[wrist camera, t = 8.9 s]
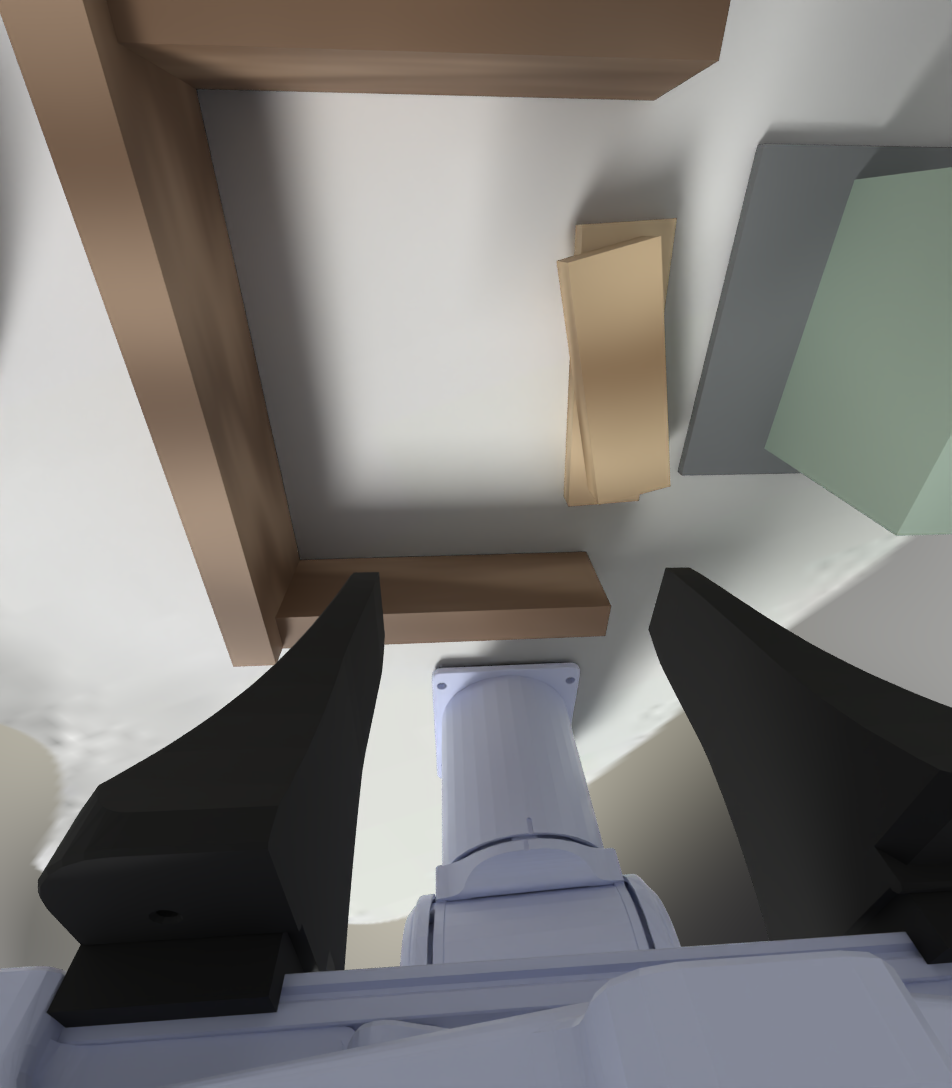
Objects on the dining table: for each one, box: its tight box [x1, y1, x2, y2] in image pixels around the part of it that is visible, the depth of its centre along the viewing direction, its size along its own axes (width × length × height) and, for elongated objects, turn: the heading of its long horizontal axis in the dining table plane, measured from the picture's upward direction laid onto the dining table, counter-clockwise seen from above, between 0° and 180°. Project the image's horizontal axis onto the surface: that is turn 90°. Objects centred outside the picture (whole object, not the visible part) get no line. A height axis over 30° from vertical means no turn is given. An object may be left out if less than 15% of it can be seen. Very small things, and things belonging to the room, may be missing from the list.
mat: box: [678, 144, 952, 476], centre depth 18 cm, size 11×9×1 cm
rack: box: [0, 0, 731, 667], centre depth 16 cm, size 19×15×5 cm
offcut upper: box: [557, 236, 670, 505], centre depth 17 cm, size 8×3×2 cm, turn 14°
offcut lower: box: [564, 218, 677, 507], centre depth 19 cm, size 10×3×2 cm, turn 3°
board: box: [764, 167, 952, 536], centre depth 15 cm, size 9×2×7 cm, turn 0°
